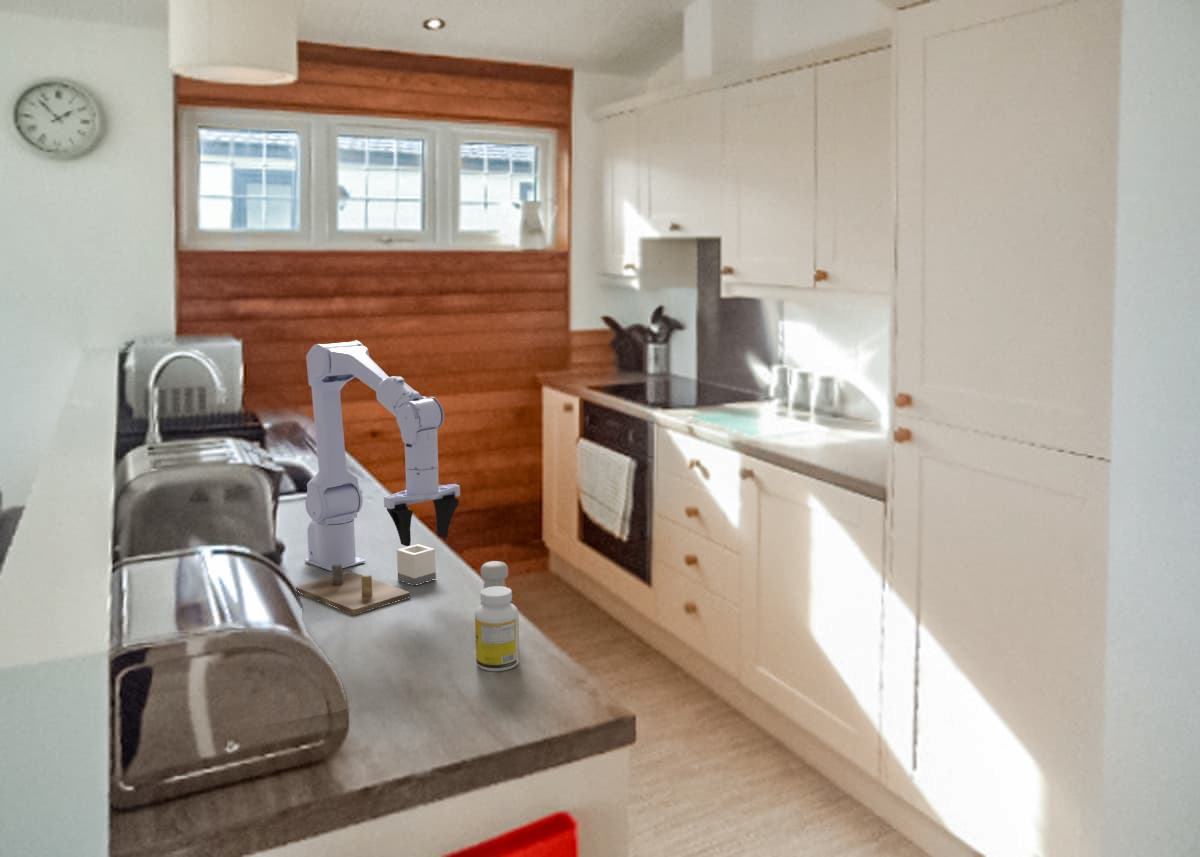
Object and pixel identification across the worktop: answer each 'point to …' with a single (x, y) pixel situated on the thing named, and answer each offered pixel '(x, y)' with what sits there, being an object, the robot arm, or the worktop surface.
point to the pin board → (352, 591)
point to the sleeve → (416, 564)
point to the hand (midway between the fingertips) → (424, 540)
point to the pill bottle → (497, 630)
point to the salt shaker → (494, 574)
